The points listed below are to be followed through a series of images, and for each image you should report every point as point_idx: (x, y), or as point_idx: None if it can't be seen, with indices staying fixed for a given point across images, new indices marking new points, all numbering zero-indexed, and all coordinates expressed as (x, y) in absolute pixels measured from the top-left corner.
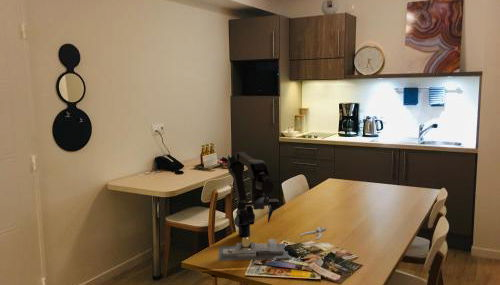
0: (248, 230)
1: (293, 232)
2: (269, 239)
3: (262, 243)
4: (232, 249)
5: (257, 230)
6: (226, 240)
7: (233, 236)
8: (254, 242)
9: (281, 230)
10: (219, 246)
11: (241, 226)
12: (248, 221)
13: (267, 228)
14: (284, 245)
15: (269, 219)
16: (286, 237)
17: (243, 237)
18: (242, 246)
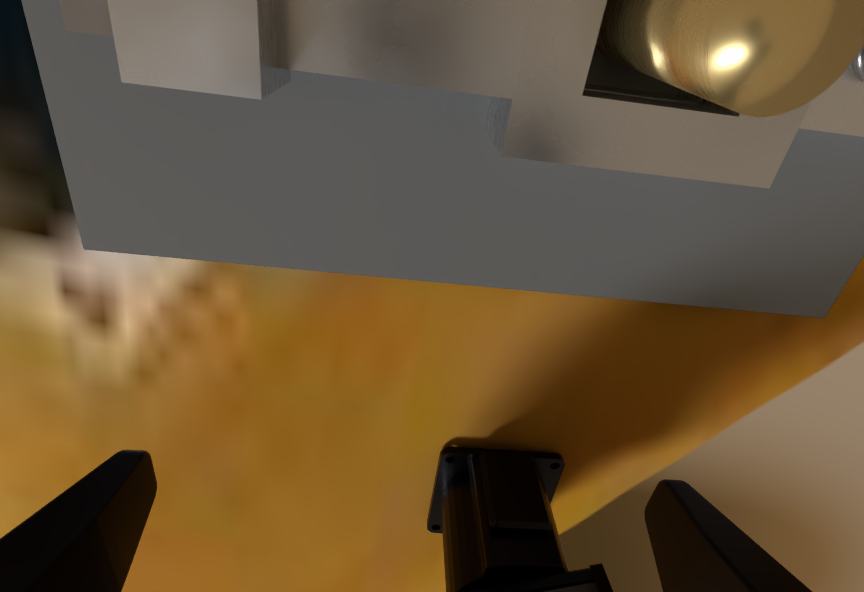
0: (469, 526)
1: (28, 503)
2: (239, 75)
3: (386, 72)
4: (825, 100)
5: (357, 569)
6: (667, 447)
7: (579, 505)
8: (506, 151)
9: (148, 547)
10: (824, 313)
11: (558, 572)
12: (689, 513)
13: (270, 588)
14: (77, 187)
15: (47, 512)
16: (89, 420)
17: (807, 91)
18: (698, 106)
